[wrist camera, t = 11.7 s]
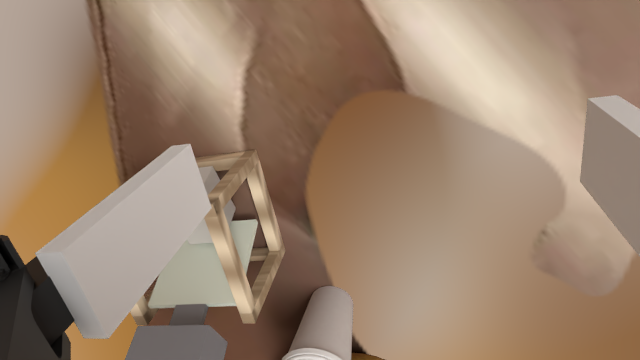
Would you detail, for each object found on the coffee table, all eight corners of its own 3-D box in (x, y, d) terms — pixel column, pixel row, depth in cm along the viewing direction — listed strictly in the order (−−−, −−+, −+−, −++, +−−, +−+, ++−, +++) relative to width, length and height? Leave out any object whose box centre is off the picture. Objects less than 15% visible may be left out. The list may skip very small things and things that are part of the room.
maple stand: (149, 163, 58) (81, 216, 46) (256, 149, 54) (212, 203, 42) (187, 256, 65) (137, 325, 53) (285, 250, 61) (255, 323, 49)
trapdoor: (187, 237, 62) (170, 217, 58) (263, 231, 59) (250, 209, 55) (138, 377, 49) (112, 362, 45) (231, 378, 46) (211, 363, 42)
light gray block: (204, 211, 60) (178, 170, 55) (235, 208, 59) (212, 165, 54) (189, 244, 56) (160, 203, 51) (223, 241, 55) (197, 199, 50)
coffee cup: (307, 325, 67) (283, 413, 54) (295, 278, 63) (266, 361, 50) (367, 326, 65) (357, 418, 52) (359, 277, 61) (345, 363, 48)
